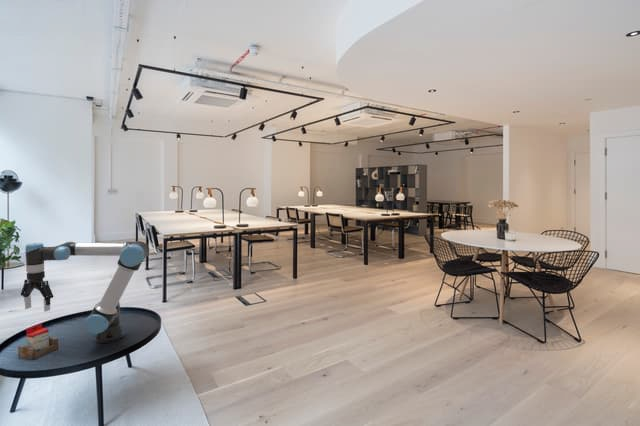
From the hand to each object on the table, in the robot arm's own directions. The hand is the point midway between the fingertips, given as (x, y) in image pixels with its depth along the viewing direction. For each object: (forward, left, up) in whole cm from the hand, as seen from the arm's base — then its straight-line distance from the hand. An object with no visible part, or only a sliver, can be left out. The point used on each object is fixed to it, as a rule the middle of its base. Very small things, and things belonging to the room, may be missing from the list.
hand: (37, 309), depth 185 cm
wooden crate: (0, 0, -25) cm, 25 cm away
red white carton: (0, 0, -24) cm, 24 cm away
